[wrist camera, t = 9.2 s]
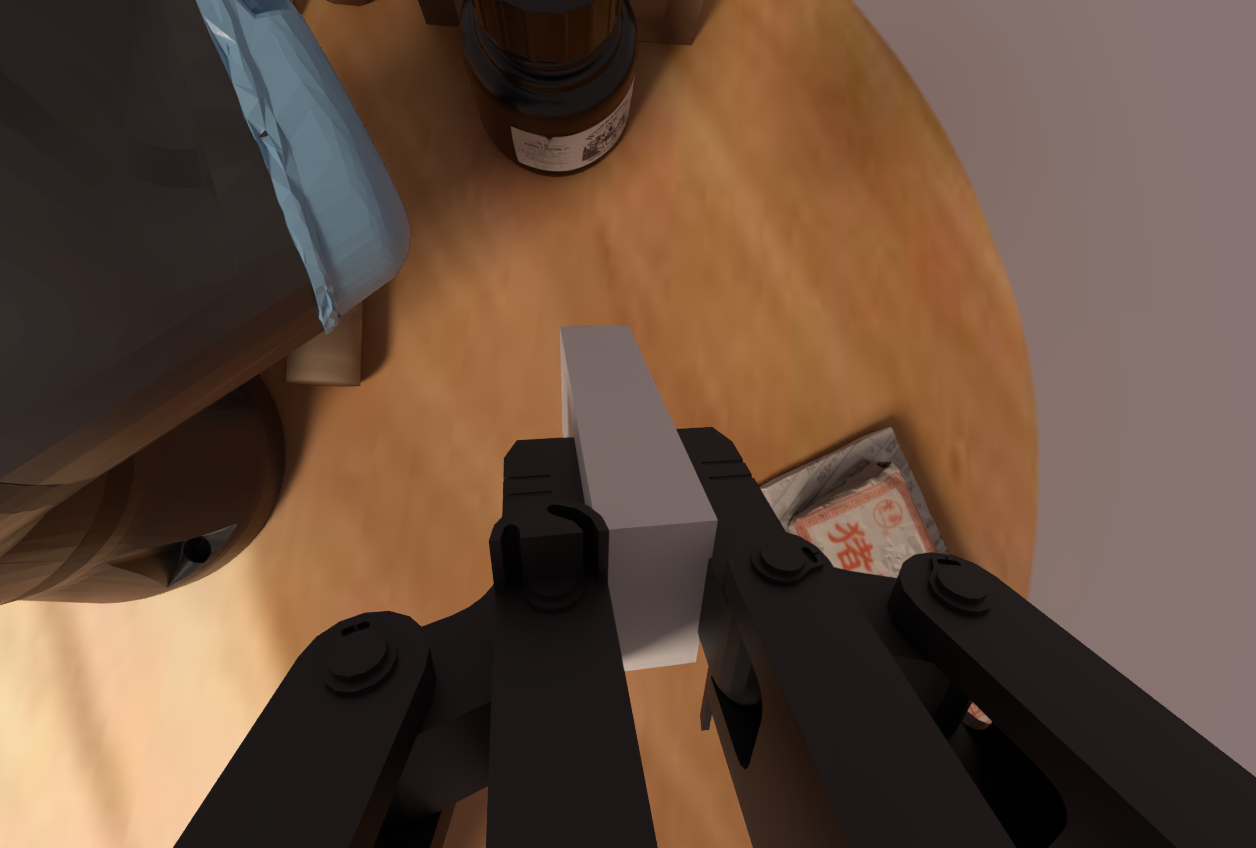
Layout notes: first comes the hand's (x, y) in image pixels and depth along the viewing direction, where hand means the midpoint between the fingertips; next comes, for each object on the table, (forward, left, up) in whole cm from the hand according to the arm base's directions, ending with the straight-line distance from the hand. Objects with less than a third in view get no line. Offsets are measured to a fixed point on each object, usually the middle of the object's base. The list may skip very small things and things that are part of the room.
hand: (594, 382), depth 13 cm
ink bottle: (-2, +19, -21) cm, 28 cm away
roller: (-15, +5, -21) cm, 26 cm away
